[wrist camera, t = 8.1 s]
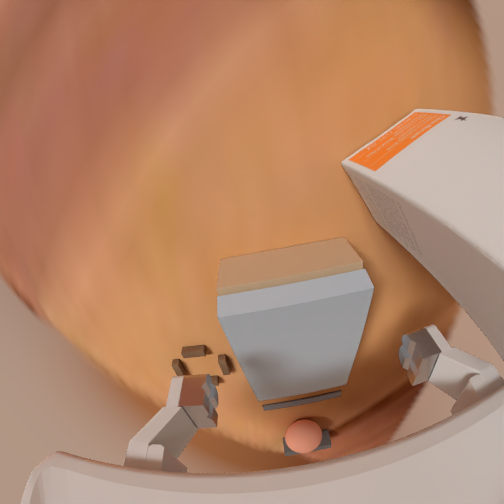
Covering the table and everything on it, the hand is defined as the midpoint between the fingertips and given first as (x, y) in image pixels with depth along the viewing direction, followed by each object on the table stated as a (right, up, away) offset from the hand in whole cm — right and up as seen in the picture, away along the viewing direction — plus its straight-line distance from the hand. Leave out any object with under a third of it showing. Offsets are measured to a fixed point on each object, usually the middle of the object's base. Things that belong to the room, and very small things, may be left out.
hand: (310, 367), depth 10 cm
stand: (-6, -4, +9) cm, 11 cm away
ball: (+3, -15, +12) cm, 20 cm away
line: (+2, -9, +12) cm, 15 cm away
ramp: (+1, -1, +8) cm, 8 cm away
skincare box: (+6, +10, +3) cm, 11 cm away
